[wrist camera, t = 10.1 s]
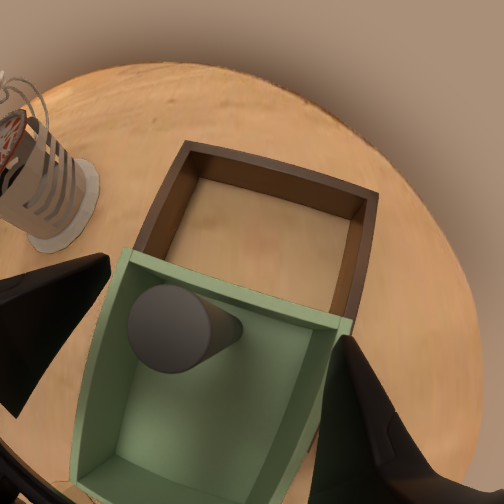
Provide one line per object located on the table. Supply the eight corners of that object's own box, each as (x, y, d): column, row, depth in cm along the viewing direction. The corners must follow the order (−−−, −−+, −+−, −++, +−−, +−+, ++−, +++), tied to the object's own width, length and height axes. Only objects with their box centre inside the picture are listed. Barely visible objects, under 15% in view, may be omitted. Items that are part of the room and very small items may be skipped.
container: (250, 505, 13) (243, 629, 1) (110, 452, 14) (4, 518, 2) (322, 323, 17) (444, 304, 5) (162, 272, 18) (39, 182, 6)
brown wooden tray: (299, 433, 15) (309, 453, 12) (117, 367, 16) (92, 372, 13) (361, 214, 19) (379, 192, 16) (194, 166, 21) (185, 139, 17)
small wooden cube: (76, 512, 12) (62, 523, 9) (54, 481, 13) (37, 491, 10) (101, 513, 12) (87, 527, 9) (77, 481, 13) (60, 492, 10)
